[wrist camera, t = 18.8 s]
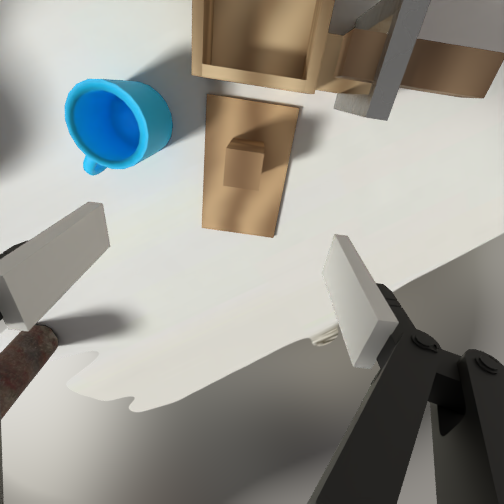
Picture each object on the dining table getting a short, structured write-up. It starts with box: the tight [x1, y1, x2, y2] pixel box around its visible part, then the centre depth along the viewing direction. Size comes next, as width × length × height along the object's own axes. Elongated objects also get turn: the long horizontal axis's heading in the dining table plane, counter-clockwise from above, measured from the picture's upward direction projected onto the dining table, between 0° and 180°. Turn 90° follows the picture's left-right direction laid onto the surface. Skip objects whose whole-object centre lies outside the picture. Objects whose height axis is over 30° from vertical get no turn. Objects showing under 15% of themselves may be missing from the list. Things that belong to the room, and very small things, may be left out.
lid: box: [202, 94, 299, 238], centre depth 33 cm, size 11×18×8 cm, turn 172°
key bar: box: [334, 28, 504, 98], centre depth 22 cm, size 12×3×3 cm, turn 82°
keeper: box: [334, 0, 431, 121], centre depth 24 cm, size 2×8×12 cm, turn 173°
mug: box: [65, 79, 173, 175], centre depth 30 cm, size 12×8×8 cm
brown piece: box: [0, 325, 58, 419], centre depth 47 cm, size 8×7×20 cm
